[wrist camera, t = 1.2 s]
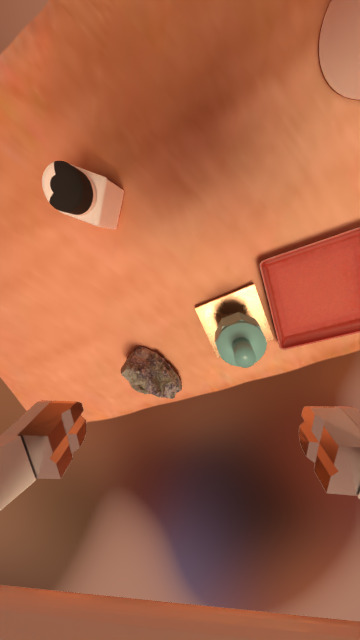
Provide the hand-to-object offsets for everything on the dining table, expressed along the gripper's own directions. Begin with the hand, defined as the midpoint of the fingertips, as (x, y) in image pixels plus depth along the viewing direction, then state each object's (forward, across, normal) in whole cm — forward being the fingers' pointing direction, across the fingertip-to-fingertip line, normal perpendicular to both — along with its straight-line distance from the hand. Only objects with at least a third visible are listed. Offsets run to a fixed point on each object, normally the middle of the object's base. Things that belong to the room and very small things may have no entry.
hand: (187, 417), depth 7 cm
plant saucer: (+34, -23, +2) cm, 41 cm away
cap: (+28, -8, +8) cm, 30 cm away
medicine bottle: (+36, +17, -16) cm, 43 cm away
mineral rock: (+36, +10, +20) cm, 42 cm away
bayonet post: (+34, -8, +8) cm, 36 cm away
